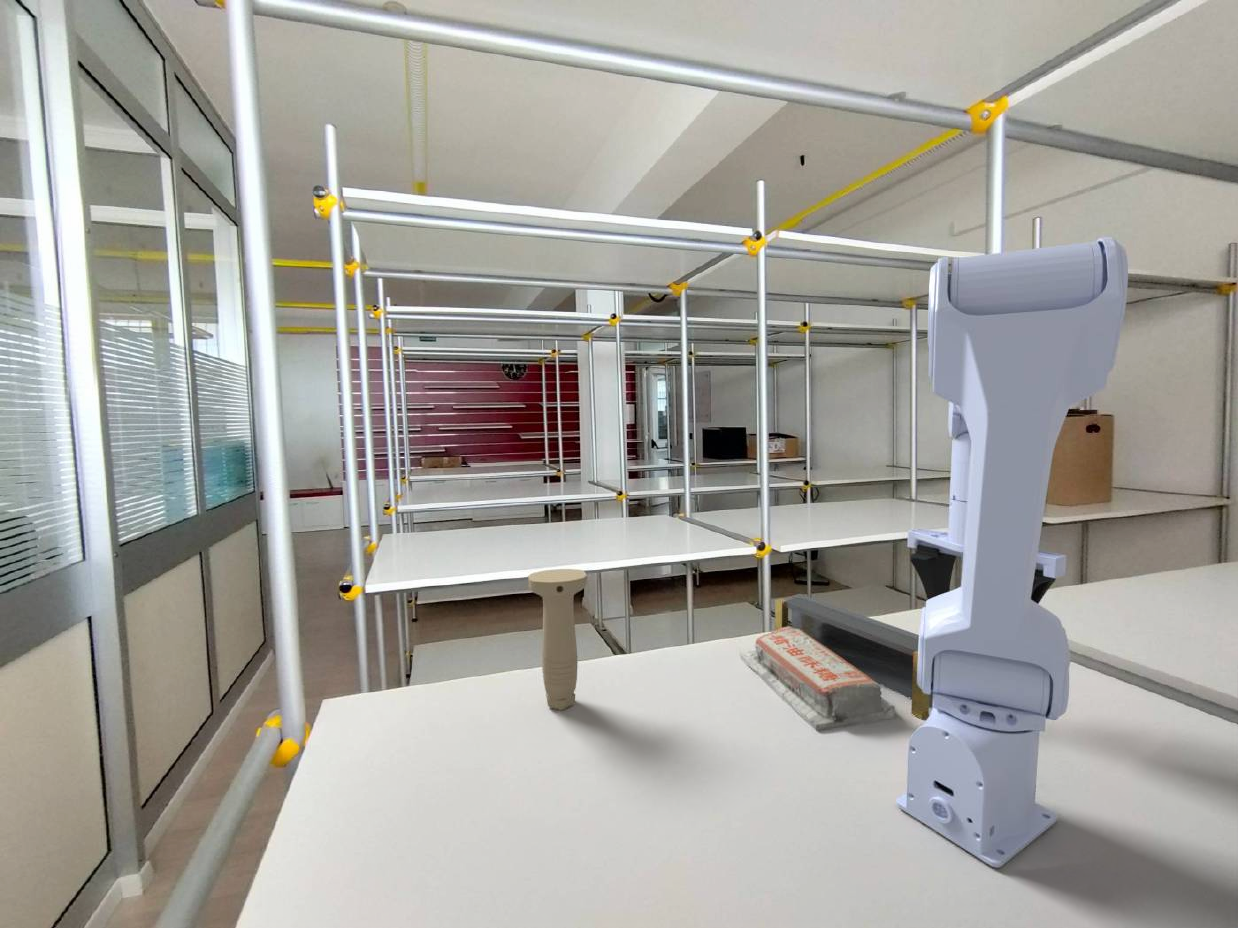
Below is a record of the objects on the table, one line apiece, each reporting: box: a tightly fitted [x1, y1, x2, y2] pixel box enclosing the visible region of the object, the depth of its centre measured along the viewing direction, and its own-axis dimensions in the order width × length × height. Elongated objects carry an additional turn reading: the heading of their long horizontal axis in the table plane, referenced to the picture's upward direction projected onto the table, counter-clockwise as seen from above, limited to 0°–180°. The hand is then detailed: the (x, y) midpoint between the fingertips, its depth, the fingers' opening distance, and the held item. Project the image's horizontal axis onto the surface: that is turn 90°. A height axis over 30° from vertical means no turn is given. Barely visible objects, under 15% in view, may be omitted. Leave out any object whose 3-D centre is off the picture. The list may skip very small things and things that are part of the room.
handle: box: [527, 568, 588, 711], centre depth 64 cm, size 5×6×15 cm
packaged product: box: [739, 626, 896, 732], centre depth 68 cm, size 18×5×10 cm
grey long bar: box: [774, 593, 933, 720], centre depth 70 cm, size 5×21×7 cm, turn 31°
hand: (975, 627), depth 60 cm, fingers open, 7 cm apart
